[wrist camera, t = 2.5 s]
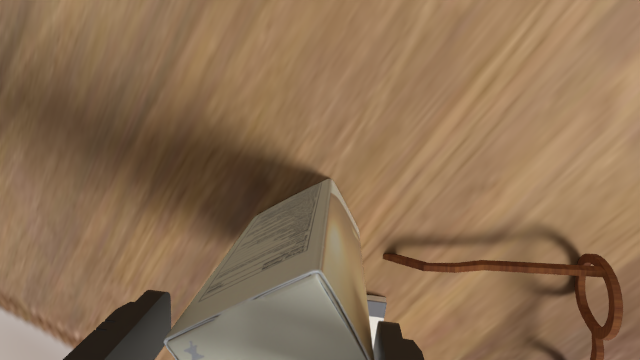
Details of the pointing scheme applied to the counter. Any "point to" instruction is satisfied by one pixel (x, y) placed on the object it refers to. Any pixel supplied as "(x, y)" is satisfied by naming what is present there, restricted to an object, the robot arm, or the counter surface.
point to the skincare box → (284, 289)
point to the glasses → (579, 270)
